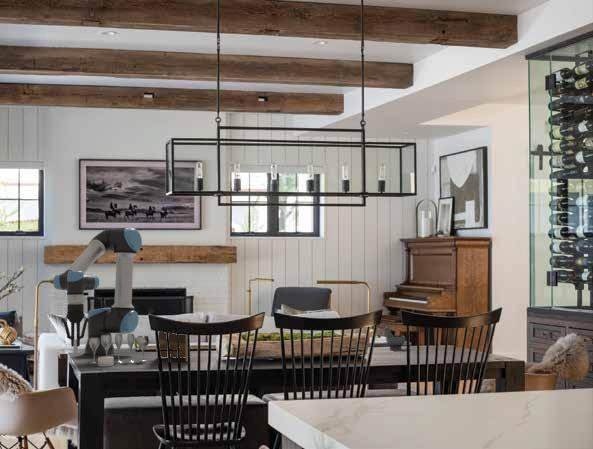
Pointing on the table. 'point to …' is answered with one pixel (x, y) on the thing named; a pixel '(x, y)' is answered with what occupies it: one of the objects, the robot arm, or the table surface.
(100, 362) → the cream squat rounded piece
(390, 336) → the mortar and pestle
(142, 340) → the goblet set
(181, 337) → the walnut shelf
